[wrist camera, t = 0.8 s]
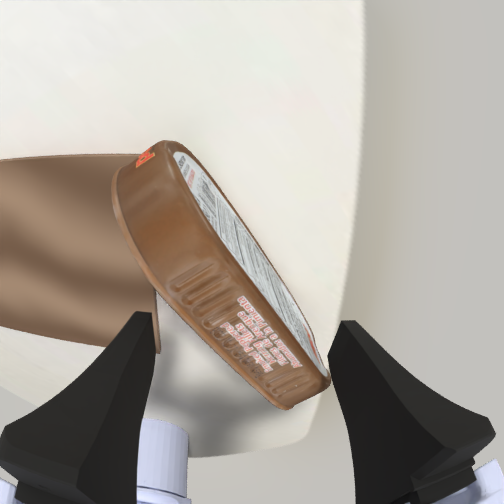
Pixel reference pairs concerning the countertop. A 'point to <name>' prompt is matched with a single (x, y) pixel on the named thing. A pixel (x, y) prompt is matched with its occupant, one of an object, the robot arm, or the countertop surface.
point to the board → (67, 250)
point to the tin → (215, 273)
